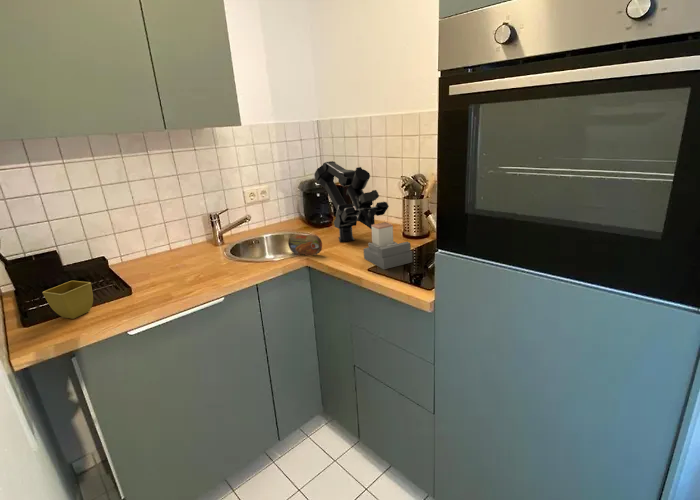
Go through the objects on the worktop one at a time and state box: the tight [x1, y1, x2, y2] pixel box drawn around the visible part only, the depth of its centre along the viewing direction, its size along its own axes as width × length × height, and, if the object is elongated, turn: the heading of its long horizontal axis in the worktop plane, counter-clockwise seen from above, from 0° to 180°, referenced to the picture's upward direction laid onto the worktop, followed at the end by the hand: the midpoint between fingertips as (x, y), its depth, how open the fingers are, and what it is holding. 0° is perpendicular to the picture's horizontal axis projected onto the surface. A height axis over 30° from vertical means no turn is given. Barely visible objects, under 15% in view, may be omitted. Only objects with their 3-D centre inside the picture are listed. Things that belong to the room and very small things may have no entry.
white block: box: [371, 221, 394, 248], centre depth 138 cm, size 5×6×9 cm
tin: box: [287, 232, 323, 256], centre depth 151 cm, size 15×3×8 cm, turn 62°
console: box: [363, 240, 413, 270], centre depth 137 cm, size 14×12×7 cm
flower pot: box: [42, 280, 94, 319], centre depth 110 cm, size 9×9×9 cm
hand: (373, 229), depth 143 cm, fingers closed
